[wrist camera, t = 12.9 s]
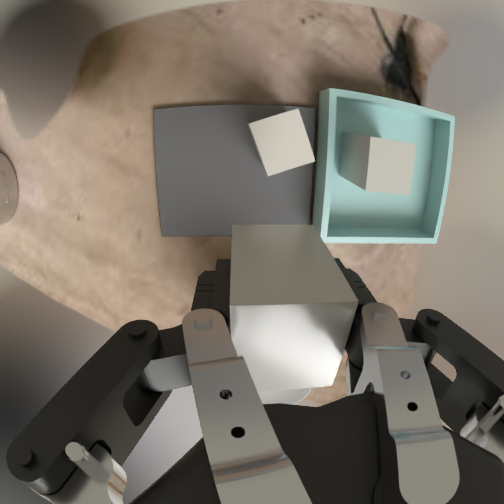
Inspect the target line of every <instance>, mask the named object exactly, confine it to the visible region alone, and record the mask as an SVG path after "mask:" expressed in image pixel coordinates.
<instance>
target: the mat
mask: <svg viewBox="0 0 504 504" xmlns="http://www.w3.org/2000/svg"><path fill="white" fill-rule="evenodd" d="M294 109H299V112H300V115H301V118H302V121H303V124H304V127H305V130H306V133H307V136H308V139H309V142H310V145H311V148H312V152H313V155H314V134H315V108H310V107H297V106H280V105H205V106H188V107H175V108H164V109H155V110H154V140H155V161H156V177H157V191H158V202H159V213H160V223H161V232H162V236H232V225H309V217H310V204H311V190H312V175H313V162H311V163H308V164H305V165H302V166H299V167H296V168H292V169H289V170H286V171H283V172H280V173H277V174H274V175H271V176H267V174H266V172H265V170H264V168H263V166H262V163H261V161H260V158H259V155H258V152H257V150H256V147H255V144H254V141H253V139H252V136H251V133H250V130H249V128H248V125H247V124H249V123H252V122H255V121H258V120H261V119H264V118H267V117H270V116H273V115H277V114H280V113H283V112H287V111H291V110H294Z"/></svg>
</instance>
